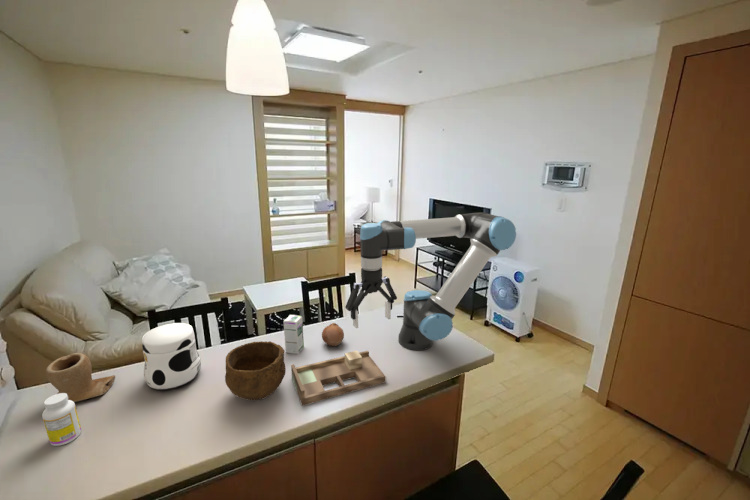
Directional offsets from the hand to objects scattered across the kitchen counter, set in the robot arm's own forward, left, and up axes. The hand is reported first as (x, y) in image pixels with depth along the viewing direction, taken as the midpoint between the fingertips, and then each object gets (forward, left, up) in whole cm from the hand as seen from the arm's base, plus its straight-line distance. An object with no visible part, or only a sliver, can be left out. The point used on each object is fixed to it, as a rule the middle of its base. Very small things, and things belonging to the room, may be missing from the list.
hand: (372, 322), depth 125 cm
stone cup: (+93, -23, -19) cm, 98 cm away
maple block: (+7, -1, -16) cm, 18 cm away
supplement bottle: (+92, -4, -19) cm, 94 cm away
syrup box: (+24, -24, -19) cm, 39 cm away
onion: (+8, -22, -19) cm, 30 cm away
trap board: (+14, +2, -19) cm, 24 cm away
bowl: (+41, -2, -19) cm, 45 cm away
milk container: (+67, -22, -19) cm, 73 cm away
